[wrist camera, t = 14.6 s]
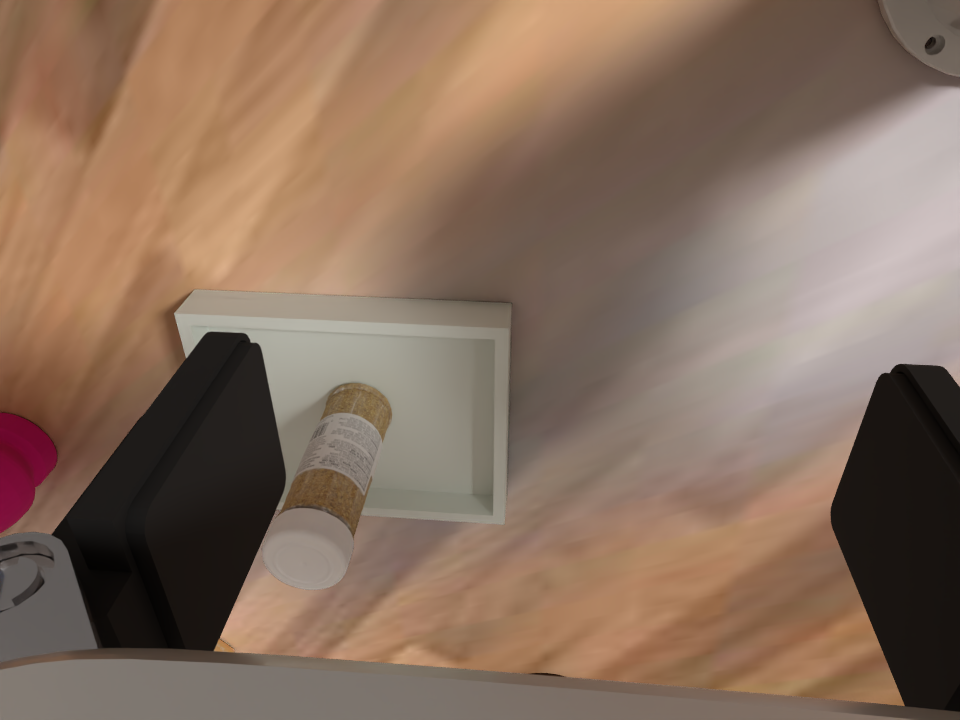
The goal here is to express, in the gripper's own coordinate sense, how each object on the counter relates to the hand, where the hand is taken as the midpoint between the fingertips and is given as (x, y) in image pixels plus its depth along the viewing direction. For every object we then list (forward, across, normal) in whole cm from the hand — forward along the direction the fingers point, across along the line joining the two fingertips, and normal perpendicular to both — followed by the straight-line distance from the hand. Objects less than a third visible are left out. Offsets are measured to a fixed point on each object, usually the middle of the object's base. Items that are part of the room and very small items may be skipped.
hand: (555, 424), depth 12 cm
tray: (+30, +12, +23) cm, 40 cm away
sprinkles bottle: (+30, +12, +23) cm, 39 cm away
